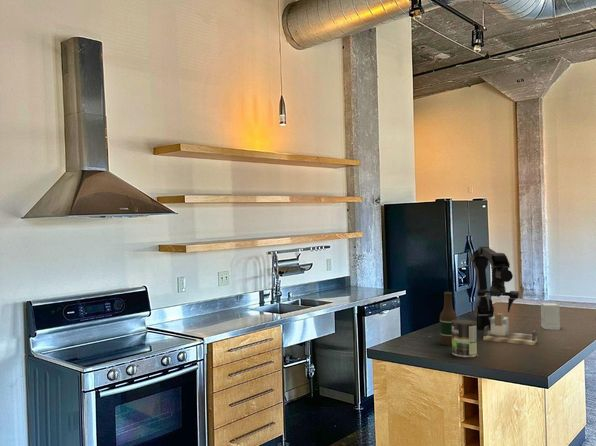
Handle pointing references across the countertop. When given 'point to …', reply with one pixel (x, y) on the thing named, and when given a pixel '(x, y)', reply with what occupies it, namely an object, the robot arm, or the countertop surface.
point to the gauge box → (505, 321)
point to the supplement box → (550, 316)
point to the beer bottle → (447, 320)
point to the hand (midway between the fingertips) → (498, 311)
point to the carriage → (498, 325)
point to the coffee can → (464, 338)
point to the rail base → (509, 340)
